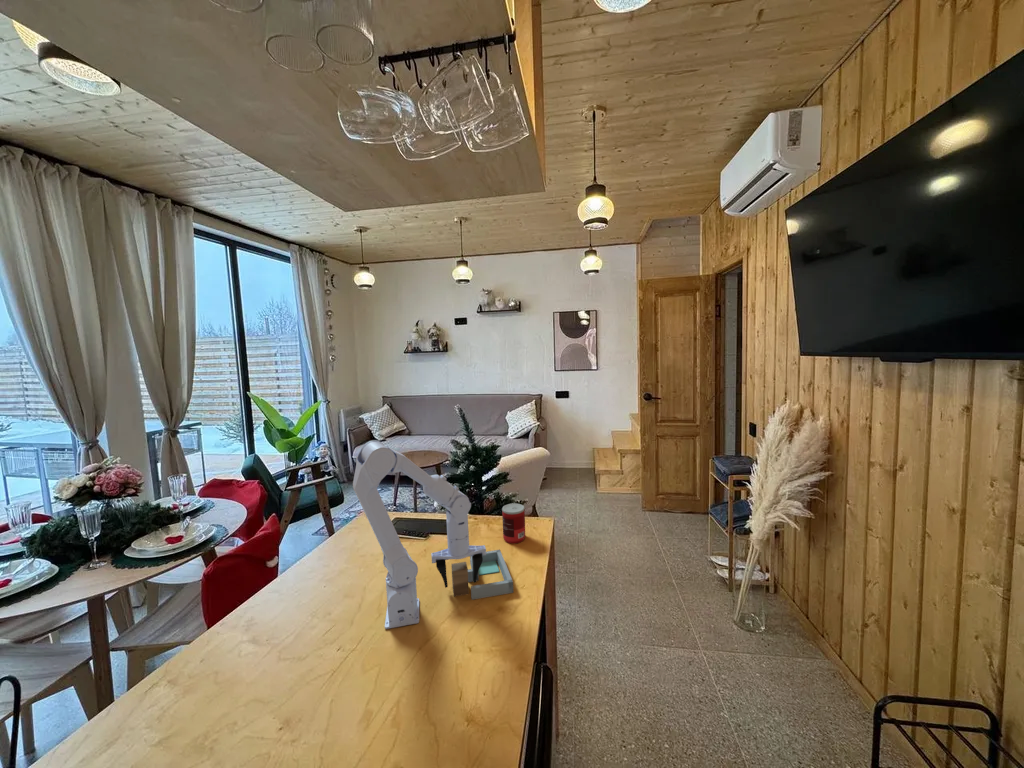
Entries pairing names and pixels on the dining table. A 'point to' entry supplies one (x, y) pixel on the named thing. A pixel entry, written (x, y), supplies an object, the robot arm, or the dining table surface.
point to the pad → (488, 568)
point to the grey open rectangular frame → (495, 587)
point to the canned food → (513, 523)
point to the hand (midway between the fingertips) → (460, 582)
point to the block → (460, 579)
